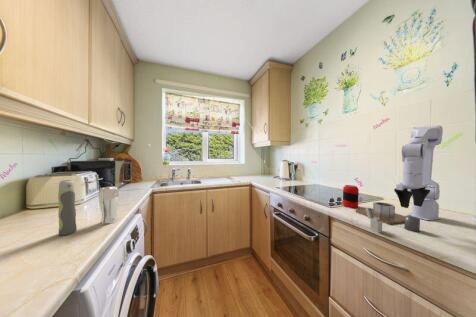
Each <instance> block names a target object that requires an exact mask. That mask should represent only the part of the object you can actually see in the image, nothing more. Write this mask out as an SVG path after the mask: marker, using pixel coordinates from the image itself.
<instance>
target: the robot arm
mask: <svg viewBox="0 0 476 317" xmlns="http://www.w3.org/2000/svg"><path fill="white" fill-rule="evenodd" d="M443 133H444V132H443V126H442V125H440V124H439V125H432V126H420V127H415V126H414V127H413V128H411V130H410V140H409V141H408V143H406V144H405V145H402V147H401V158H402V159H401V161H402V164H403V165H402V182H399V183H398V184H396V187H395V188H394V189H393V190H394V192H395V194H396V195H397V198H398V201H399V204H400V207H401V208H405V209H409V206H410V201H411V199H412V208H411V210H412V212H410V213H407V215H406V216H413V217H417V218H419V219H420V220H424V221H434V220H435V221H436V220H441V219H442V218H441V217H439V214H440V212H439V211H440V205H439V202H437V201H438V200H439V199H440V190H441V189H440V185H439V183H437V182H436V181H435V180H433V179H432V173H433V164H434V163H433V161H434V160H433V159H434V150H435V148H436V146H438V145H441V144H442V142H443V141H442V140H443Z"/></svg>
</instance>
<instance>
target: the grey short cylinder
mask: <svg viewBox="0 0 476 317" xmlns="http://www.w3.org/2000/svg"><path fill="white" fill-rule="evenodd" d="M404 216H405V223H403V224H404V227H403V228H404V230H406V231H409V232H413V233H420V228H421V226H420V225H421V219H420V218H417V217H413V216H410V215H404Z"/></svg>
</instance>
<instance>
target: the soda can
mask: <svg viewBox="0 0 476 317" xmlns="http://www.w3.org/2000/svg"><path fill="white" fill-rule="evenodd" d="M359 192H360V190H359V187H358V186H357V185H351V184H345V185H344V186H343V187H342V206H343V207H345V208H349V209H357V208H358V207H359Z"/></svg>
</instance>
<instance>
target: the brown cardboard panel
mask: <svg viewBox="0 0 476 317" xmlns="http://www.w3.org/2000/svg"><path fill="white" fill-rule="evenodd" d="M372 211H373V215H374V217H377V218H379V221H381V222H382V224H386V225H396V224H404V223H405V216H406V215H403V214H400V213H397V212H396V206H395V205H394V204H391V203H388V202H380V201H378V202H377V201H375V202H374V201H373V204H372ZM355 213H356V214H360V215H362V216H365V217H367V218H368V216H367V212H366V208H365V209H356V210H355Z"/></svg>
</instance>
